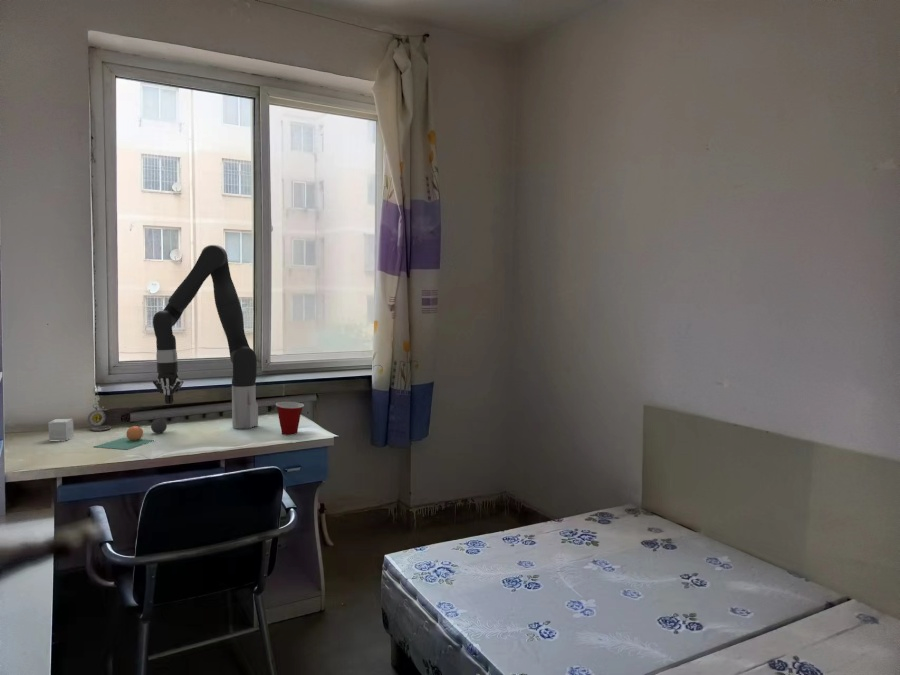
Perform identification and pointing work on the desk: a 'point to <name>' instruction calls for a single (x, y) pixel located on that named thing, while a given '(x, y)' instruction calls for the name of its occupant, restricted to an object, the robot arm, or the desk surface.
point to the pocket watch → (97, 419)
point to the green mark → (124, 443)
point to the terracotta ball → (134, 433)
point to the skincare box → (61, 429)
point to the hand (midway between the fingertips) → (169, 403)
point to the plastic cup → (289, 416)
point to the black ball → (158, 426)
